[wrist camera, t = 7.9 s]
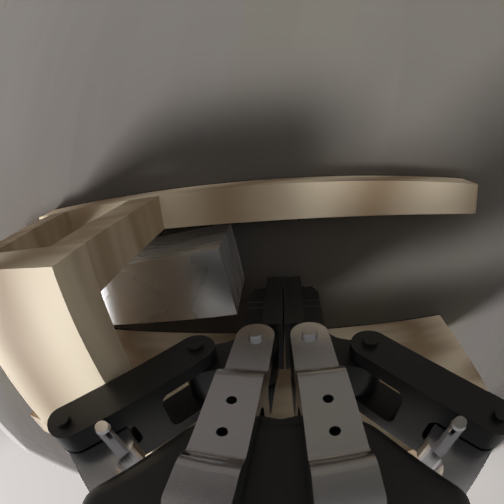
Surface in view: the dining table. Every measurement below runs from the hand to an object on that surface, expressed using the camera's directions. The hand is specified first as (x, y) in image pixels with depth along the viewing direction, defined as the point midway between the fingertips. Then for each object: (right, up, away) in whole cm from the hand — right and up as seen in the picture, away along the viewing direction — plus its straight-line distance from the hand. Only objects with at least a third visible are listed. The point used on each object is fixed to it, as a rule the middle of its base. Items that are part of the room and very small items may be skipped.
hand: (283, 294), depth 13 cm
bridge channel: (-1, +1, +2) cm, 2 cm away
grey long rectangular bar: (-8, +1, +2) cm, 8 cm away
